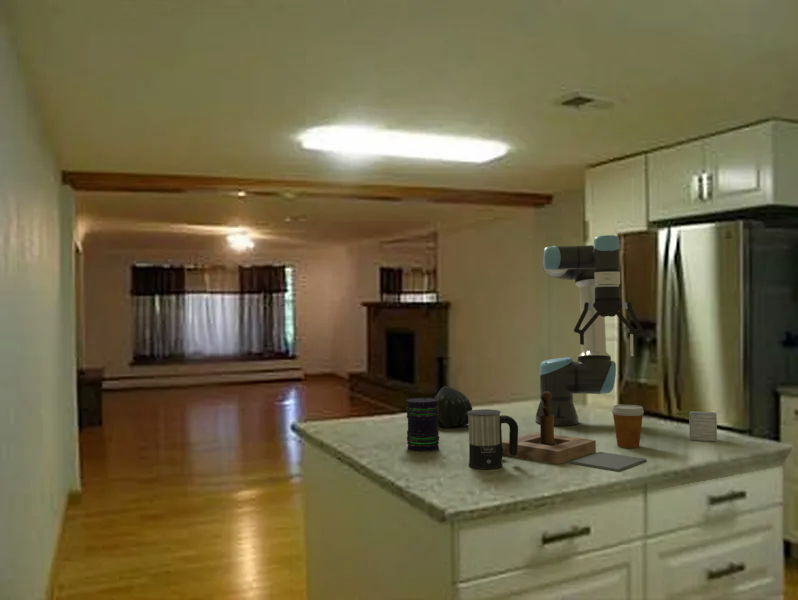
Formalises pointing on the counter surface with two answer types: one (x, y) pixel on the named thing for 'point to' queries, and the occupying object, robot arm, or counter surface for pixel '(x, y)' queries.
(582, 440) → the collar block
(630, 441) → the disposable coffee cup
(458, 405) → the squash
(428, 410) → the storage jar
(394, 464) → the counter surface
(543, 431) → the wooden pepper mill
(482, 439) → the milk frother
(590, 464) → the mat
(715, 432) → the medicine box
